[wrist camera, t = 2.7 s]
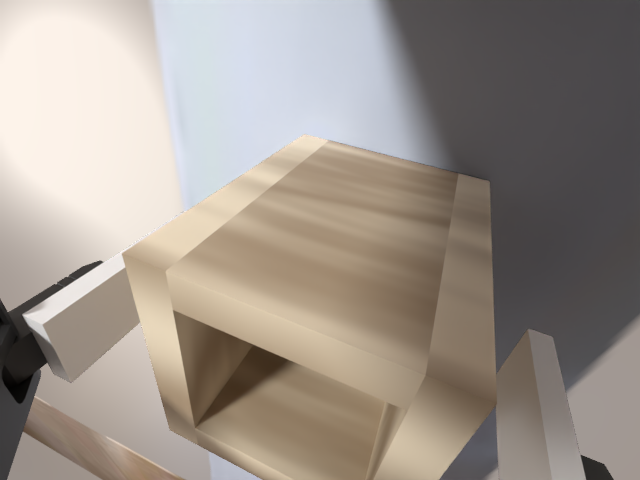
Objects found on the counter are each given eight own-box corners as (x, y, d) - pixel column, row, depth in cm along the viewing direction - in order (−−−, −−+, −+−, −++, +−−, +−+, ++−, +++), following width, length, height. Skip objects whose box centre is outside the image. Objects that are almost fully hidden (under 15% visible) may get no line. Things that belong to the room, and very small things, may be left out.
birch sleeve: (303, 134, 16) (121, 253, 8) (489, 181, 14) (497, 404, 6) (291, 269, 20) (169, 430, 12) (429, 319, 18) (387, 546, 10)
